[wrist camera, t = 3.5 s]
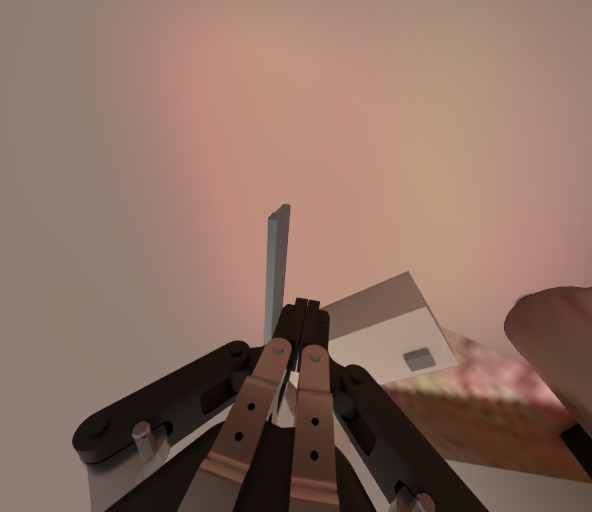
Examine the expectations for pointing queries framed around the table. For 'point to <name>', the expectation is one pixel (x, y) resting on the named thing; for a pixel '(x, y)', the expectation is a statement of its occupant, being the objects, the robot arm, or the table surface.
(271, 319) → the side door
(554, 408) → the table surface
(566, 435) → the battery
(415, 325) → the housing
